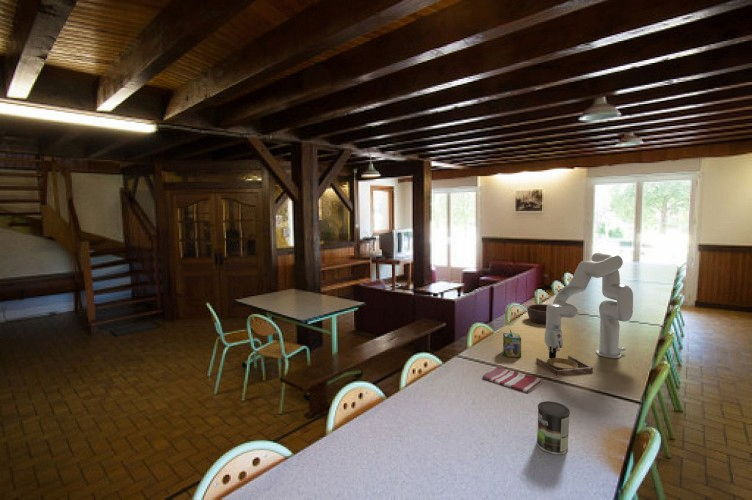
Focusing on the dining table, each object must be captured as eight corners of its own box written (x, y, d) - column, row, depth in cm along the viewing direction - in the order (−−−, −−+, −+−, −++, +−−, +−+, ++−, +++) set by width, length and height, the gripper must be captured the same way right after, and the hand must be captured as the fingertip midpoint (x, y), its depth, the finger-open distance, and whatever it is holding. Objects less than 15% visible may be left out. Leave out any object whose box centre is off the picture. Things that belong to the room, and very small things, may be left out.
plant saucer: (542, 361, 214) (542, 357, 214) (570, 362, 213) (570, 357, 213) (553, 373, 200) (553, 368, 199) (582, 373, 198) (582, 368, 198)
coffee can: (546, 455, 132) (547, 416, 130) (531, 438, 142) (532, 401, 141) (574, 453, 133) (576, 414, 131) (558, 436, 143) (559, 400, 142)
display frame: (569, 359, 216) (569, 355, 216) (592, 372, 199) (592, 367, 199) (536, 362, 213) (536, 358, 212) (556, 375, 195) (556, 371, 195)
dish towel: (498, 369, 205) (498, 365, 205) (542, 383, 188) (542, 378, 188) (481, 379, 193) (481, 374, 193) (527, 395, 177) (528, 389, 176)
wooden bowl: (569, 325, 280) (569, 311, 279) (534, 326, 280) (534, 312, 279) (553, 316, 305) (554, 303, 304) (521, 316, 305) (522, 304, 304)
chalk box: (521, 357, 220) (521, 332, 218) (504, 356, 222) (505, 331, 220) (518, 352, 229) (519, 327, 227) (502, 351, 231) (503, 327, 229)
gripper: (568, 329, 207) (567, 363, 208) (551, 322, 221) (550, 353, 223) (555, 330, 205) (554, 364, 207) (539, 323, 220) (538, 354, 222)
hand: (552, 358), depth 215 cm, fingers closed
